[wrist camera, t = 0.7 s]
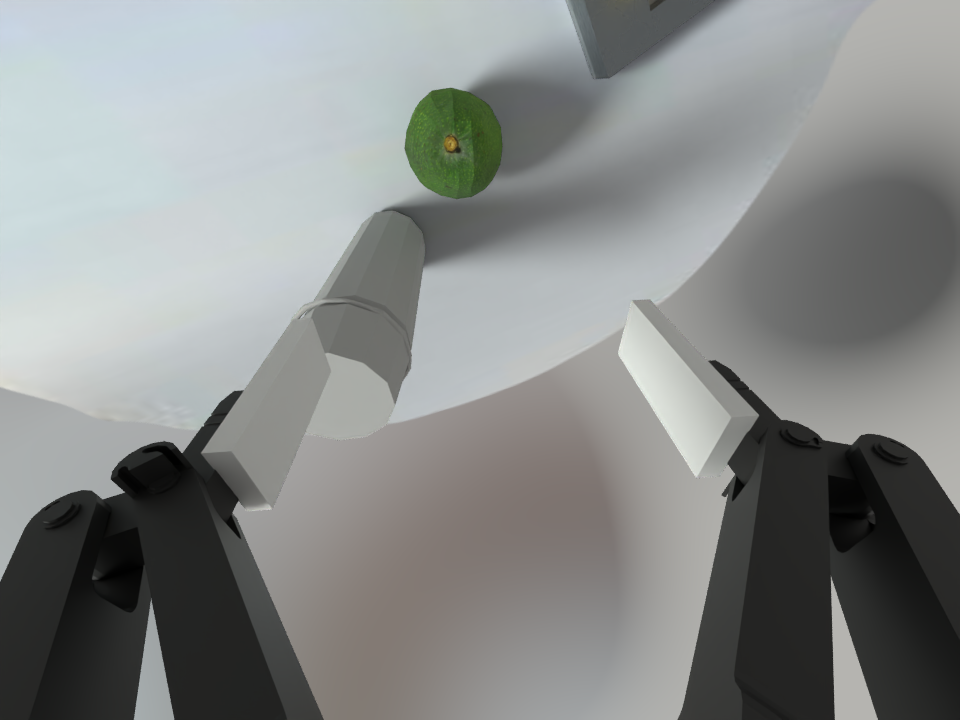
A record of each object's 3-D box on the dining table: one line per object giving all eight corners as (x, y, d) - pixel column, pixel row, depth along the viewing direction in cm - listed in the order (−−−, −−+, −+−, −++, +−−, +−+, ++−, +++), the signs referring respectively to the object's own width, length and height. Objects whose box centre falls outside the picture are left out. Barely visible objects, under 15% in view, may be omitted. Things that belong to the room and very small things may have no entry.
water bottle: (406, 193, 36) (355, 321, 16) (438, 262, 41) (429, 427, 21) (328, 227, 38) (194, 382, 18) (367, 290, 42) (296, 468, 22)
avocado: (496, 87, 31) (517, 88, 22) (494, 184, 36) (510, 219, 27) (405, 87, 31) (386, 88, 22) (415, 186, 36) (403, 221, 26)
